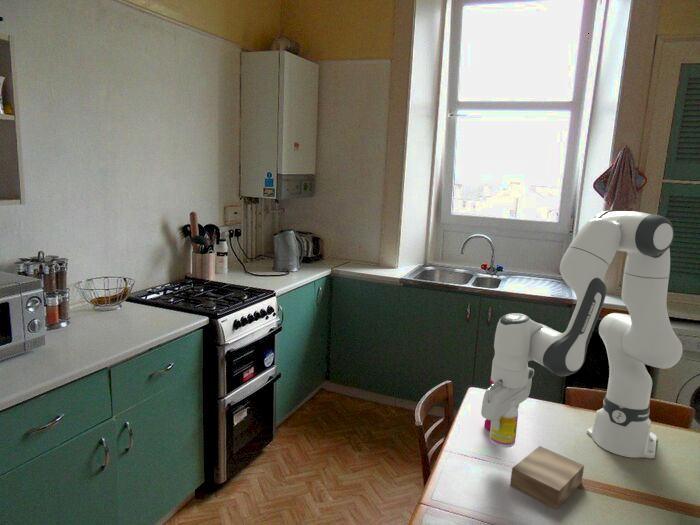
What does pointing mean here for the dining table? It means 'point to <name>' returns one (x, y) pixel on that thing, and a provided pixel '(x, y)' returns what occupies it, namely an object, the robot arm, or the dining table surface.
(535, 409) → the dining table surface
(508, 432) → the supplement bottle
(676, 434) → the dining table surface
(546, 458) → the walnut stand
